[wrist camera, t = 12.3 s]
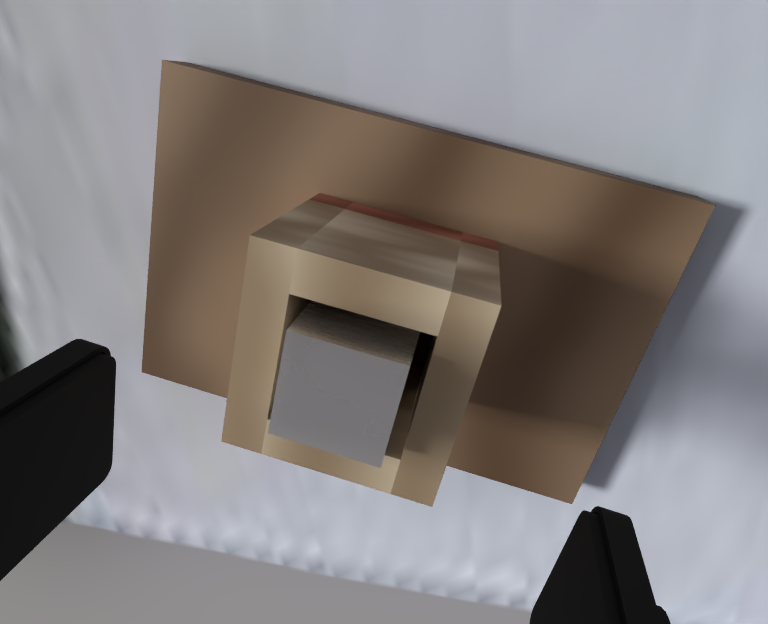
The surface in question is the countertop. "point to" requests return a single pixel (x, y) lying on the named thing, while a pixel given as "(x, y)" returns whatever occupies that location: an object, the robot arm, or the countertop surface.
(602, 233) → the pin board
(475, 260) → the sleeve
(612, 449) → the countertop surface
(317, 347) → the steel pin
